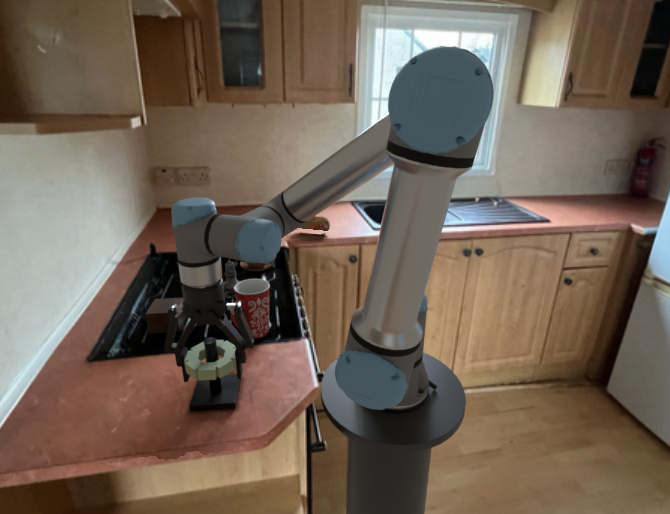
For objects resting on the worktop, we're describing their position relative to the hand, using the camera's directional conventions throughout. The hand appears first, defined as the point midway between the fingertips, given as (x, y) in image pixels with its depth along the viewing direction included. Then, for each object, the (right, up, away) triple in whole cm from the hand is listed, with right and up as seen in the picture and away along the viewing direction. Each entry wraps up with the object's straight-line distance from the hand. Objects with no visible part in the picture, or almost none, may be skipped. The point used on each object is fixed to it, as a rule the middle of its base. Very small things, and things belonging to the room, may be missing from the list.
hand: (214, 376), depth 85 cm
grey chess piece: (-7, +11, +43) cm, 45 cm away
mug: (+3, +3, +23) cm, 23 cm away
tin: (+15, +31, +96) cm, 102 cm away
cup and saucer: (-3, +18, +62) cm, 65 cm away
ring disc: (0, +3, -1) cm, 3 cm away
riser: (-20, +5, +27) cm, 34 cm away
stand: (0, -5, +2) cm, 5 cm away
